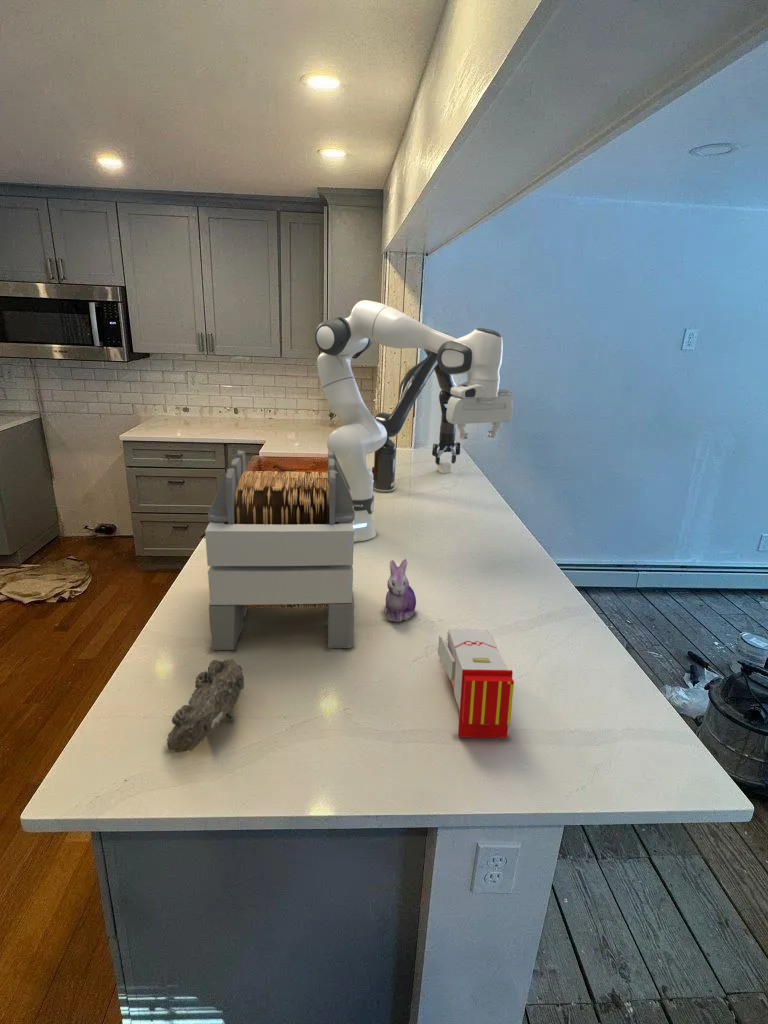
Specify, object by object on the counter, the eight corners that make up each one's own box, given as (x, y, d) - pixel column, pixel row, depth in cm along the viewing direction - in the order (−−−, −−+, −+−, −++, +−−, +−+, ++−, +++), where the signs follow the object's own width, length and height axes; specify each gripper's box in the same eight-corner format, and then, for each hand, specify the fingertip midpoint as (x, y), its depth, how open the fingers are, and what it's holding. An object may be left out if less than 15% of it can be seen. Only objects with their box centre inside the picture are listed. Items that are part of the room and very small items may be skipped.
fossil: (192, 660, 117) (244, 628, 112) (224, 691, 120) (276, 661, 115) (142, 746, 98) (202, 712, 93) (182, 779, 101) (242, 748, 96)
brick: (450, 472, 278) (451, 464, 277) (442, 473, 277) (442, 464, 275) (445, 470, 282) (446, 461, 281) (437, 470, 281) (438, 462, 279)
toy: (488, 613, 130) (523, 677, 101) (484, 667, 133) (517, 744, 104) (435, 612, 130) (455, 676, 101) (432, 666, 133) (451, 743, 103)
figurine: (392, 627, 141) (395, 572, 136) (374, 608, 149) (376, 556, 144) (425, 619, 145) (429, 566, 140) (405, 601, 154) (408, 550, 149)
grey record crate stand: (230, 583, 159) (223, 441, 145) (347, 582, 163) (350, 443, 149) (209, 652, 127) (196, 479, 114) (354, 649, 131) (359, 480, 117)
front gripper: (506, 387, 166) (501, 434, 170) (445, 388, 158) (441, 437, 162) (519, 390, 160) (513, 438, 165) (456, 391, 152) (452, 442, 157)
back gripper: (456, 428, 278) (454, 460, 284) (431, 430, 273) (428, 462, 279) (464, 432, 272) (461, 464, 278) (438, 433, 267) (436, 467, 272)
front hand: (477, 438), depth 164 cm, fingers open, 8 cm apart
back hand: (445, 463), depth 278 cm, fingers open, 8 cm apart
